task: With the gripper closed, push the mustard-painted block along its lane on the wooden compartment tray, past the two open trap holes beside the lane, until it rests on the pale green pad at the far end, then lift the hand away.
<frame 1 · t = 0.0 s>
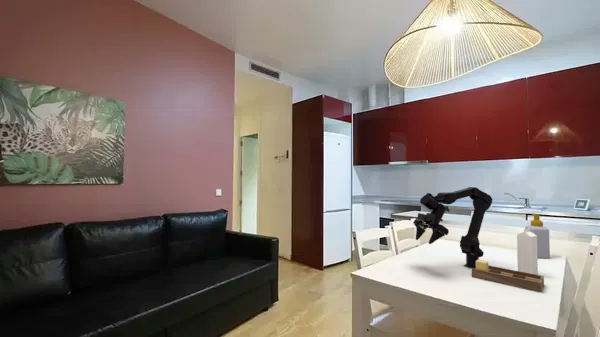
hand: (422, 241, 140), 15 cm above the table, tool tilted 35°, fingers open, 9 cm apart
soap bottle: (537, 256, 168), on the table
wooden compartment tray: (506, 280, 128), on the table
milk: (527, 274, 138), on the table
block: (482, 272, 133), point 2 cm above the table, touching wooden compartment tray
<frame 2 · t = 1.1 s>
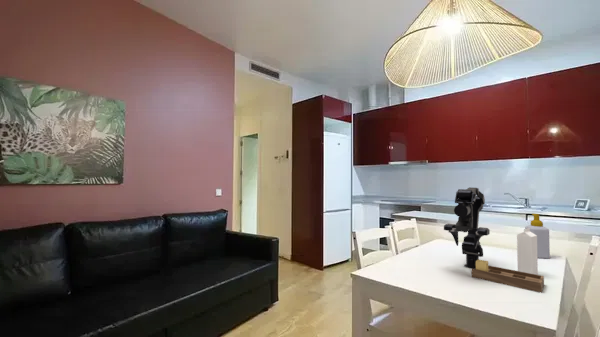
hand: (466, 246, 138), 13 cm above the table, tool pointing down, fingers open, 7 cm apart
nothing on the table moved.
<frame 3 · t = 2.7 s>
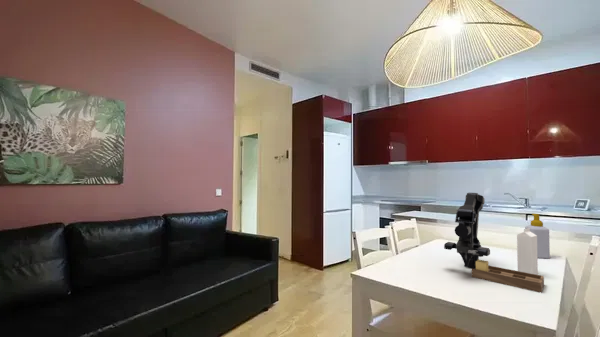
hand: (466, 266, 137), 4 cm above the table, tool pointing down, fingers closed
nothing on the table moved.
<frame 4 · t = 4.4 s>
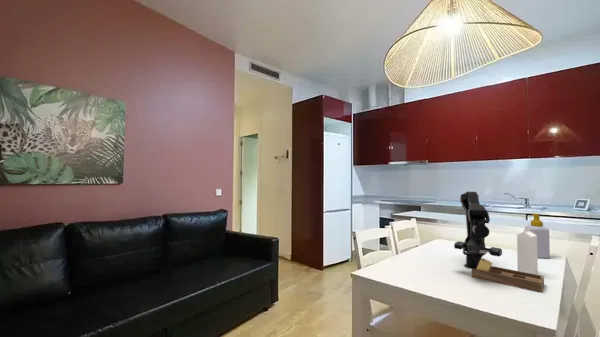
hand: (477, 266, 134), 4 cm above the table, tool pointing down, fingers closed, pressing on block
block: (482, 270, 133), point 3 cm above the table, tilted 20°, touching gripper, wooden compartment tray
everything else where it was.
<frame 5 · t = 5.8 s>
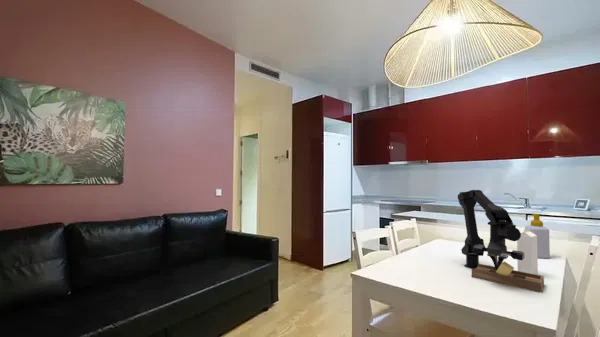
hand: (497, 270, 128), 5 cm above the table, tool pointing down, fingers closed, pressing on block
block: (502, 274, 127), point 3 cm above the table, tilted 28°, touching gripper, wooden compartment tray
everything else where it was.
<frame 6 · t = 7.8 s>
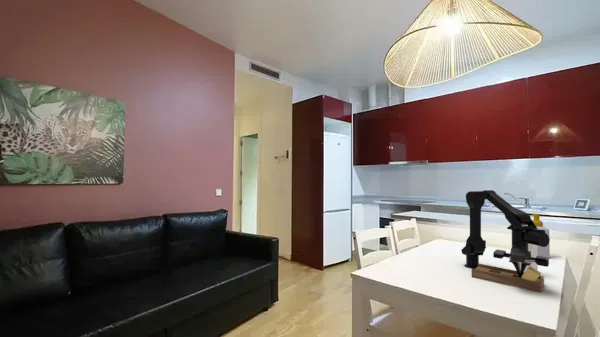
hand: (520, 277, 123), 4 cm above the table, tool pointing down, fingers closed
block: (527, 279, 121), point 3 cm above the table, tilted 28°, touching gripper, wooden compartment tray
everything else where it was.
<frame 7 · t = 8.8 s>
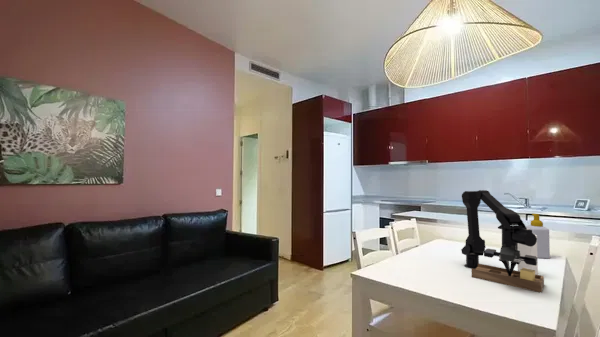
hand: (509, 275, 125), 3 cm above the table, tool pointing down, fingers closed
block: (527, 281, 121), point 2 cm above the table, touching wooden compartment tray
everything else where it was.
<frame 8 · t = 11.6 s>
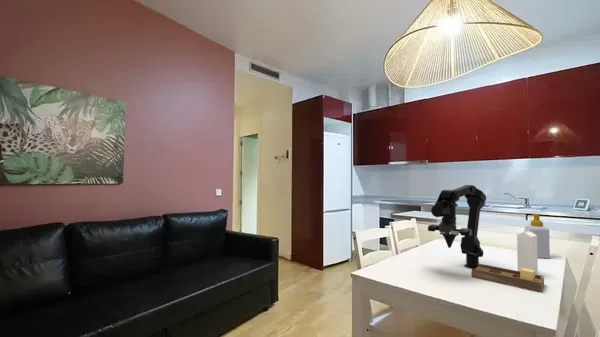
hand: (449, 247, 138), 12 cm above the table, tool pointing down, fingers closed
nothing on the table moved.
at the end: block 2.0 cm from the target spot, point 2.4 cm above the table; block tilted 2°; block touching wooden compartment tray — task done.
